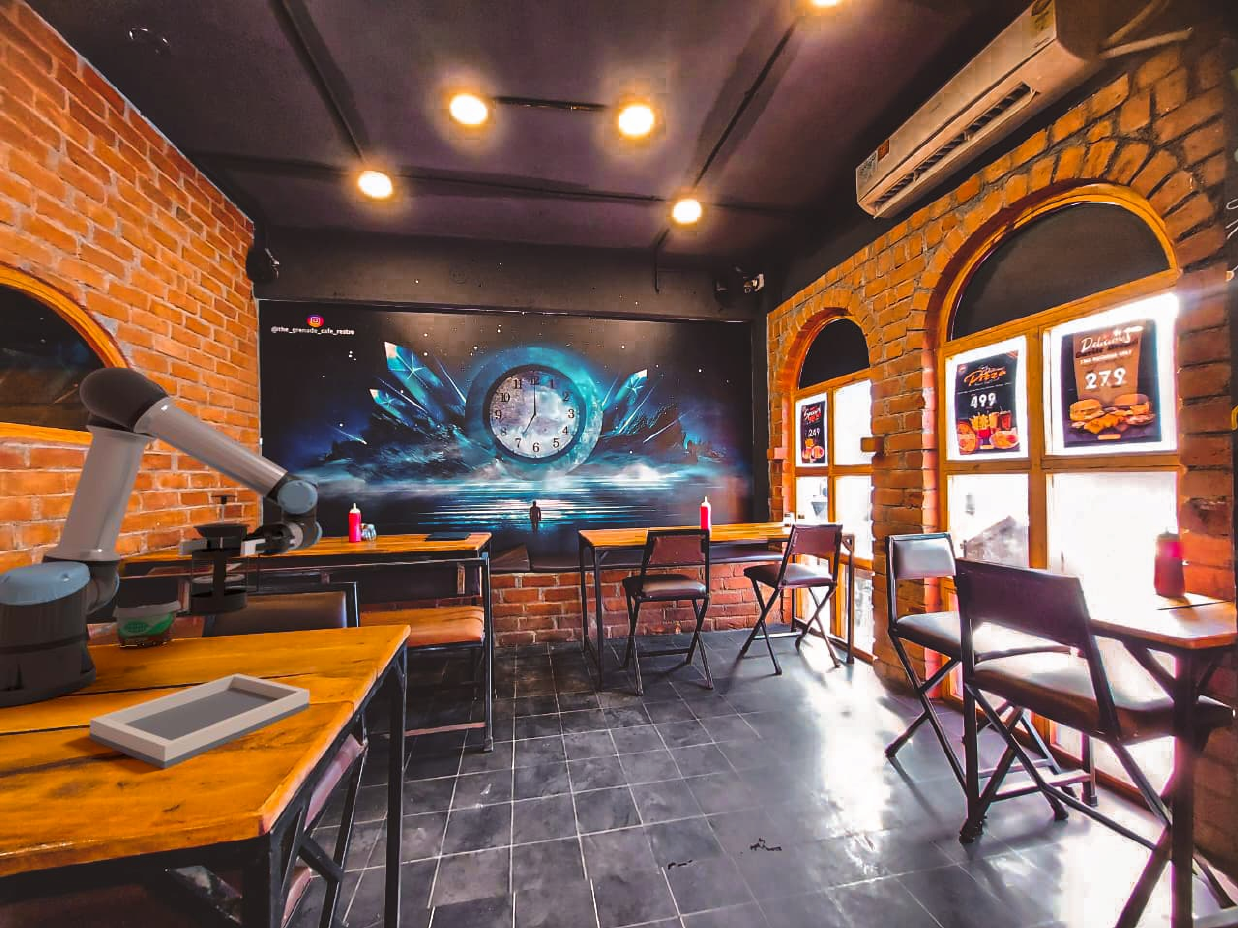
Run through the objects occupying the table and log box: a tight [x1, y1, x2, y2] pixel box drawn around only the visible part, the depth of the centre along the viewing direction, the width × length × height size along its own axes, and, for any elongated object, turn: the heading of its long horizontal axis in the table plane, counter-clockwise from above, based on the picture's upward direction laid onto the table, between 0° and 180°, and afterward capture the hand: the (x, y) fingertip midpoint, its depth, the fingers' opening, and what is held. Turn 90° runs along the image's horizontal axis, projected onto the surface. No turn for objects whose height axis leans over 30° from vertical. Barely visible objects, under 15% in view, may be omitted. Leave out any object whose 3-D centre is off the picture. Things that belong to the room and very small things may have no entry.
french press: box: [186, 494, 261, 617], centre depth 99 cm, size 12×9×23 cm
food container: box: [112, 599, 182, 651], centre depth 119 cm, size 12×6×10 cm, turn 123°
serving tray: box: [88, 673, 311, 770], centre depth 80 cm, size 20×20×3 cm
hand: (212, 549), depth 95 cm, fingers closed on french press, 10 cm apart
